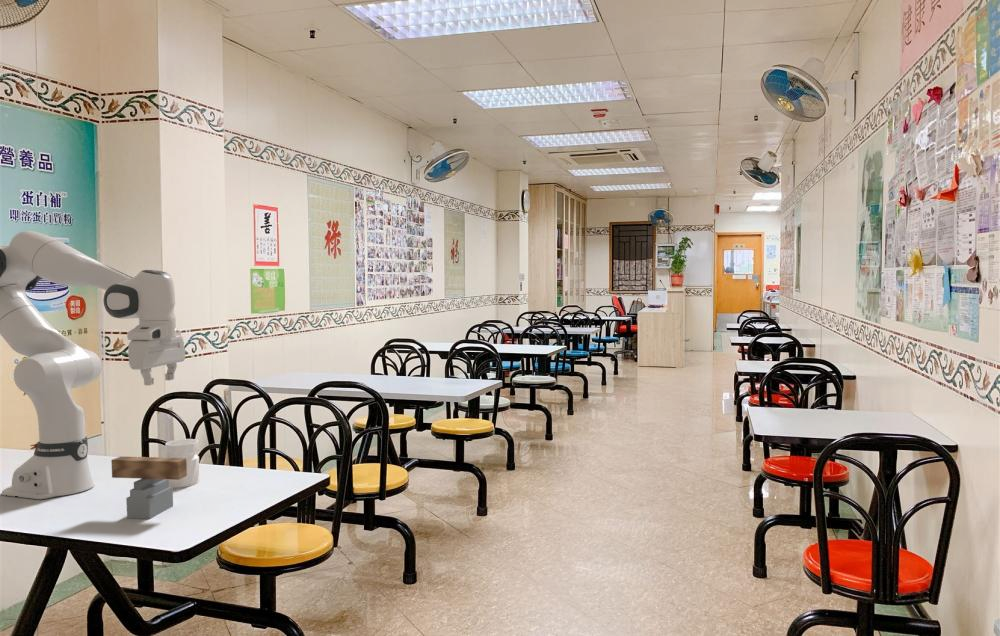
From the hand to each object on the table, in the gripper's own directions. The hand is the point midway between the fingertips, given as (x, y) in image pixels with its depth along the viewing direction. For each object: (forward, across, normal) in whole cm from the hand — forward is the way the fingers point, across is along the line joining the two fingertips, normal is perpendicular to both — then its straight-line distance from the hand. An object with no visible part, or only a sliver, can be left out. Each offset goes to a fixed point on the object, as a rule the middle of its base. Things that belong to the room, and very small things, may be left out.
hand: (159, 382), depth 191 cm
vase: (+31, -13, -2) cm, 34 cm away
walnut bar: (+22, +12, +4) cm, 25 cm away
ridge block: (+31, +12, +4) cm, 34 cm away
